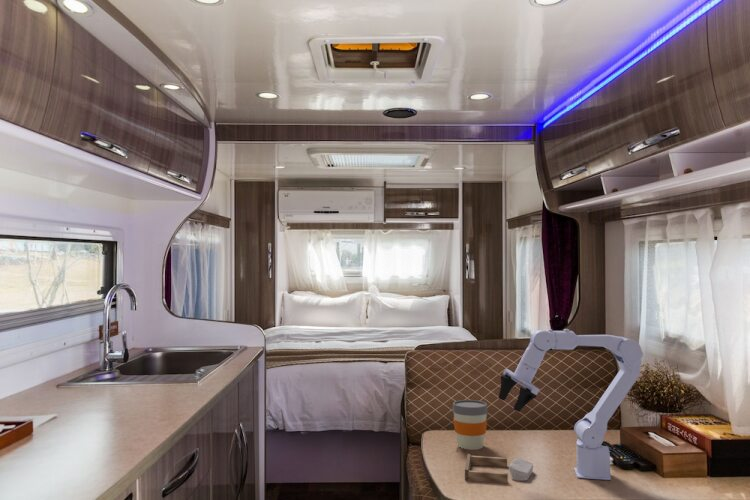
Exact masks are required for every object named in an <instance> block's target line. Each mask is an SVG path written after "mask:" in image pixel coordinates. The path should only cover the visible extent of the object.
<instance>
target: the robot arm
mask: <svg viewBox="0 0 750 500" xmlns="http://www.w3.org/2000/svg"><path fill="white" fill-rule="evenodd" d="M579 346H581V347H603V348H605V349H607V350H610V352H611V354H612V355H613V356H614V358H616V361H617V364H618V368H619V371H618V372H617V374H616V375H615V377H613V379H612V381H611V382H610V383H609V385H608V387H607V389H606V390H605V391H604V393H603V394H602V396H601V397H600V398H599V400H598V402H597V403H596V404H595V406H594V407H593V409H592V410H591V411H590V412H588V413H586V414H585V415H584V417H582V418H581V419H579V420H578V421H577V422H576V423H575V424H574V427H573V431H574V434H575V436H576V437H577V441H576V443H575V444H576V447H575V448H576V449H575V450H576V467H574V468H573V471H574V472H575V474H576V477H577V479H578V478H579V479H588V480H590V479H591V480H605V481H611V480H612V477H611V454H610V448H609V446H608V445H607V446H605V445H602V444H603V442H604V438H605V435H606V432H607V430H608V422H609V420H610V419H611V418H612V417H613V415H614V414H615V412H616V410H617V409H618V407H620V405H621V403H622V401H623V400H624V399H625V398H626V396H627V394H628V393H629V391H630V390H631V389H632V387H633V386H634V384H635V383H636V381H637V380H638V379H639V377H640V375H641V369H642V367H641V366H642V358H643V356H644V353H643V350H642V347H641V345H640V344H639V342H638V341H636V340H634V339H632V338H631V339H630V338H626V337H624V336H621V335H618V336H616V335H611V334H578V335H577V334H576V333H575V332H574V331H573V330H570V329H568V328H564V329H563V330H553V329H552V328H548V329H547V331H546V330H543V329H537V330H535V331H533V333H532V334H530V335H529V344H528V346H527V347H526V348H525V351H524V352H523V354H522V356H521V359H520V361H519V363H518V365H517V367H516V369H515V370H514V372H513V371H512V370H510V369H508V368H505V369H504V371H503V373H502V374H503V375H502V374H501V375H500V390H499V394H498V399H499V400H501V401H505V400H506V399H507V397H508V396H509V393H511V390H512V389H513V387H515V386H516V385H517V384H519V385H520V386H521V387H520V388H519V394H518V396H517V399H516V402H515V404H514V407H513V410H514V411H516V412H519V413H520V412H521V410H522V409H523V408H524V407H525V406H526V405H527V404H529V402H531V401H533V400H534V399H536V398H537V395H538V394H539V392H540V390H541V389H540V388H539V387H537V386H535V385H534V384H533V383H532V381H533V379H534V377H535V375H536V373H537V372H538V370H539V367H540V365H541V363H542V362H543V360H544V356H545V355H546V352H547V351H549V350H550V349H552V350H570V351H571V350H572V351H573V350H574V349H575V348H576V347H579Z"/></svg>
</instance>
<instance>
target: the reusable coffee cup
mask: <svg viewBox="0 0 750 500" xmlns="http://www.w3.org/2000/svg"><path fill="white" fill-rule="evenodd" d="M452 412H453V419H452V420H453V426H454V433H456V440H457V447H459V448H460V447H461V448H460V449H463V448H464V449H463V450H471V451H473V450H476V451H477V450H480V449H482V448H484V443H485V434H486V433H487V427H488V426H487V424H488V419H487V416H488V415H487V414H488V412H489V410H488V404H487V403H486V402H485V401H482V400H477V399H476V400H474V399H462V400H455V401H453V403H452Z"/></svg>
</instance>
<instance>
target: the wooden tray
mask: <svg viewBox="0 0 750 500" xmlns="http://www.w3.org/2000/svg"><path fill="white" fill-rule="evenodd" d="M471 465H472V466H473V465H477V466H488V467H489V466H490V467H502V468H505V467H506V468H507V467H508V458H507V457H499V456H498V457H497V456H483V455H472V454H471V453H467V455H466V462H465V466H464V480H465V481H477V482H490V483H503V484H504V483H506V484H508V483H509V478H508V477H509V476H508V475H509V473H508V472H498V471H495V472H494V471H482V470H480V471H479V470H470V469H471Z"/></svg>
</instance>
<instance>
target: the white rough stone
mask: <svg viewBox="0 0 750 500" xmlns="http://www.w3.org/2000/svg"><path fill="white" fill-rule="evenodd" d="M508 467H509V468H508V469H509V473H510V476H511V478H512V480H514V481H524V482H525V481H528V479H529V478H530V477H531V475H532V473H533V472H534V471H533V469H534V463H533V462H531V461H528V460H525V459H522V458H520V457H515V458H514V459H513V460H512V462H511V463H510V464H509V466H508Z"/></svg>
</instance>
